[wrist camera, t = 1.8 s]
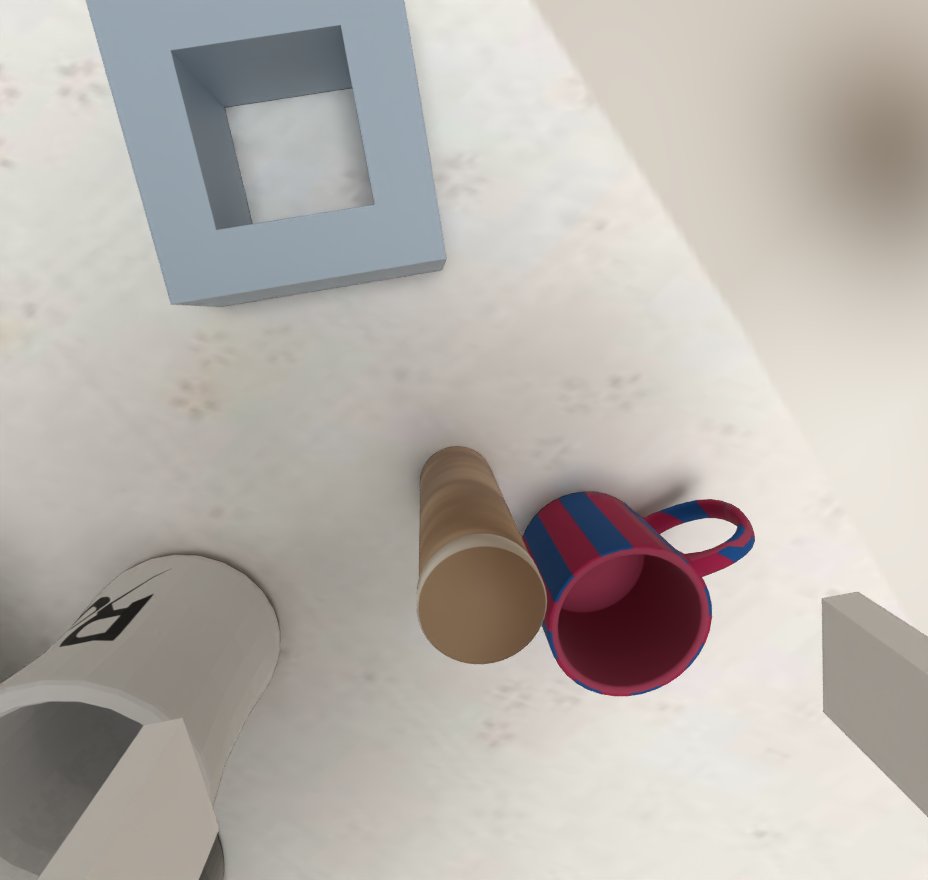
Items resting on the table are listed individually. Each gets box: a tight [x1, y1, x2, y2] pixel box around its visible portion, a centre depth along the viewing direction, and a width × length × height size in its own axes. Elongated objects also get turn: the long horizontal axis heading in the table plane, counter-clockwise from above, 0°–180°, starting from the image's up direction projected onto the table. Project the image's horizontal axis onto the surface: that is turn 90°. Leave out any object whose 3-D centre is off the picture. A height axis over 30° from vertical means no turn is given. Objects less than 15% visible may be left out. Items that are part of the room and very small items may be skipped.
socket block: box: [86, 0, 446, 307], centre depth 21 cm, size 10×10×5 cm
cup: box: [522, 492, 755, 696], centre depth 25 cm, size 7×10×7 cm
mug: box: [0, 555, 280, 880], centre depth 23 cm, size 12×9×10 cm
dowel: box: [417, 446, 547, 664], centre depth 21 cm, size 4×4×12 cm
